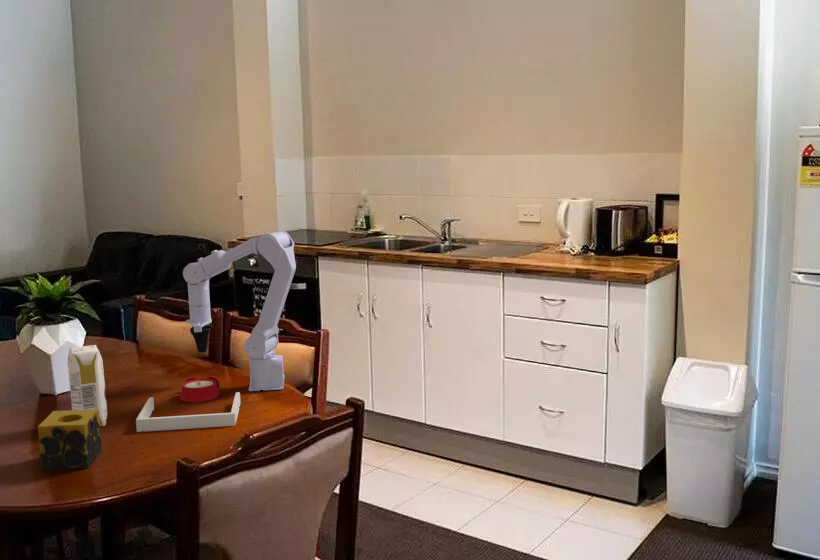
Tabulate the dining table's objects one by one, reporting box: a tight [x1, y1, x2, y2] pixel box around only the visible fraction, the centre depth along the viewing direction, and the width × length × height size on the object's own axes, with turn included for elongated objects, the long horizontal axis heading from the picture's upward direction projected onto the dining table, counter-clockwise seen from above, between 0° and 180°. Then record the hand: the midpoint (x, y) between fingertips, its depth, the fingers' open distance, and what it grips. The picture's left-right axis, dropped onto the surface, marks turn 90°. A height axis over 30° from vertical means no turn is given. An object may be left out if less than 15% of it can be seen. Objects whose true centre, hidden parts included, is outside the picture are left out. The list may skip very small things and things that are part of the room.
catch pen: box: [135, 391, 241, 433], centre depth 201 cm, size 23×18×3 cm
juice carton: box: [67, 344, 108, 427], centre depth 196 cm, size 8×9×19 cm
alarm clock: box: [179, 376, 221, 404], centre depth 219 cm, size 10×6×15 cm
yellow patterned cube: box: [37, 409, 103, 471], centre depth 173 cm, size 10×10×10 cm
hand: (202, 351), depth 228 cm, fingers closed
